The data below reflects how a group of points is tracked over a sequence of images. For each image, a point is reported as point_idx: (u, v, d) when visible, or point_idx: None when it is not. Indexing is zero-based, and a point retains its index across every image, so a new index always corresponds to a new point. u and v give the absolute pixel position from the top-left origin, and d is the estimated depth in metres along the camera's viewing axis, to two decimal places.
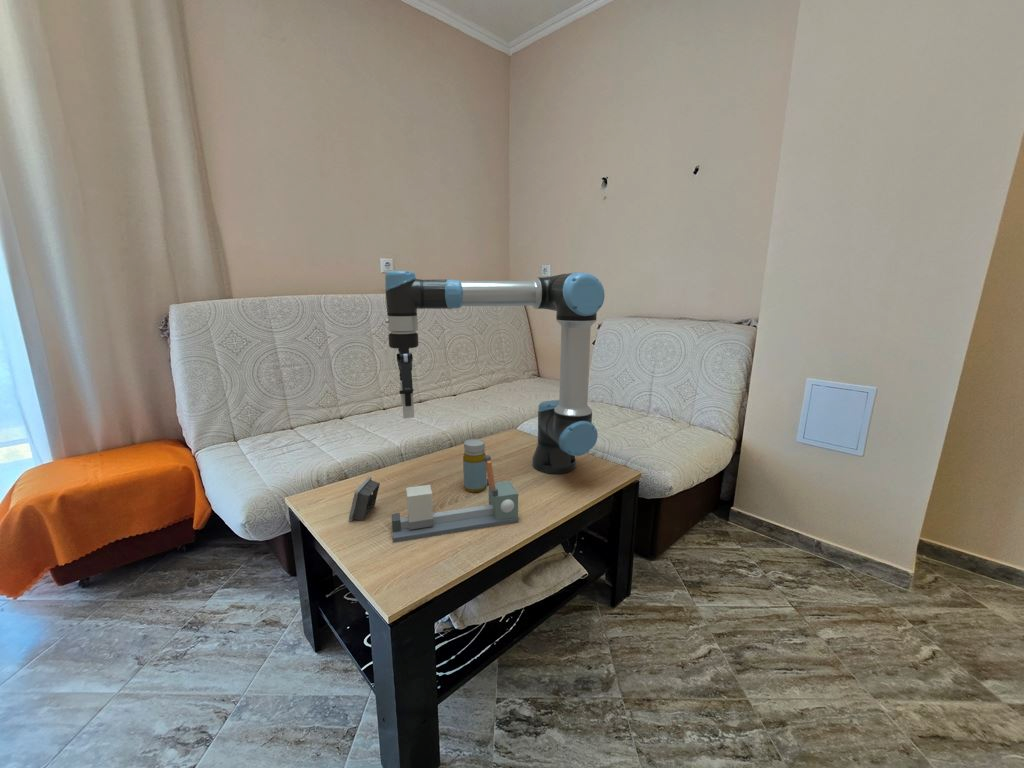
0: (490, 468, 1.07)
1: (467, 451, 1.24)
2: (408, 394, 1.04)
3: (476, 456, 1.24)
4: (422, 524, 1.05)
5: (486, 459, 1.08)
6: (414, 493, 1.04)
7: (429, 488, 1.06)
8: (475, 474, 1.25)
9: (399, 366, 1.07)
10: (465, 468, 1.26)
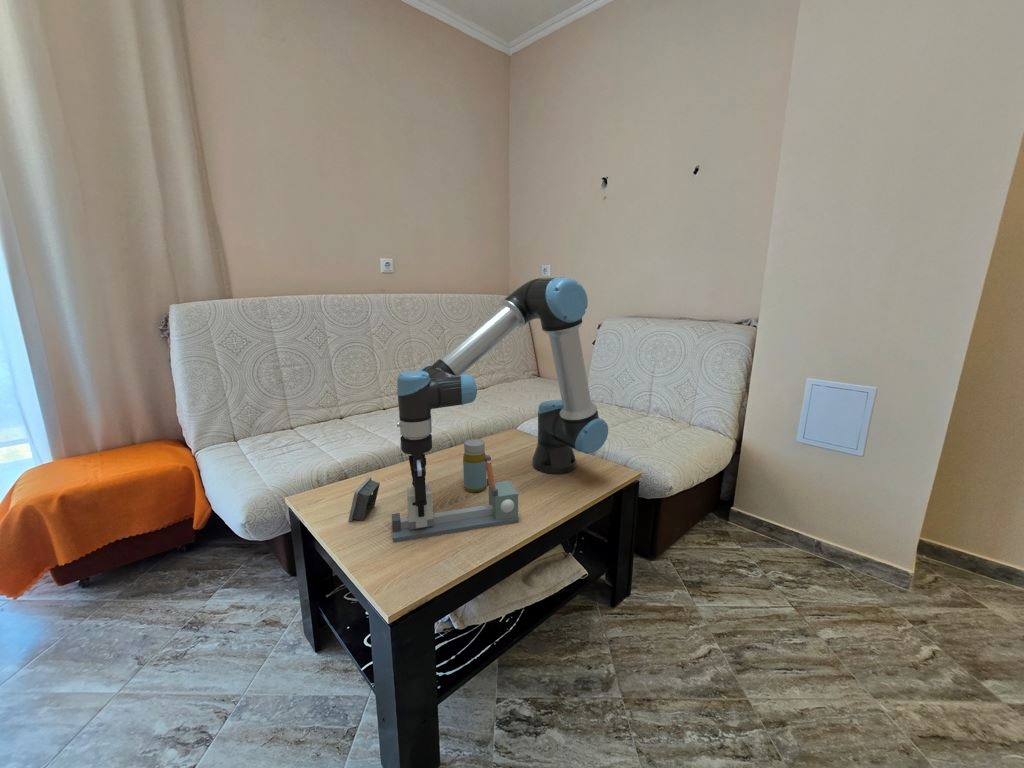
0: (490, 468, 1.07)
1: (467, 451, 1.24)
2: (421, 505, 1.01)
3: (476, 456, 1.24)
4: None
5: (486, 459, 1.08)
6: (414, 493, 1.04)
7: (429, 488, 1.06)
8: (475, 474, 1.25)
9: (412, 474, 1.01)
10: (465, 468, 1.26)
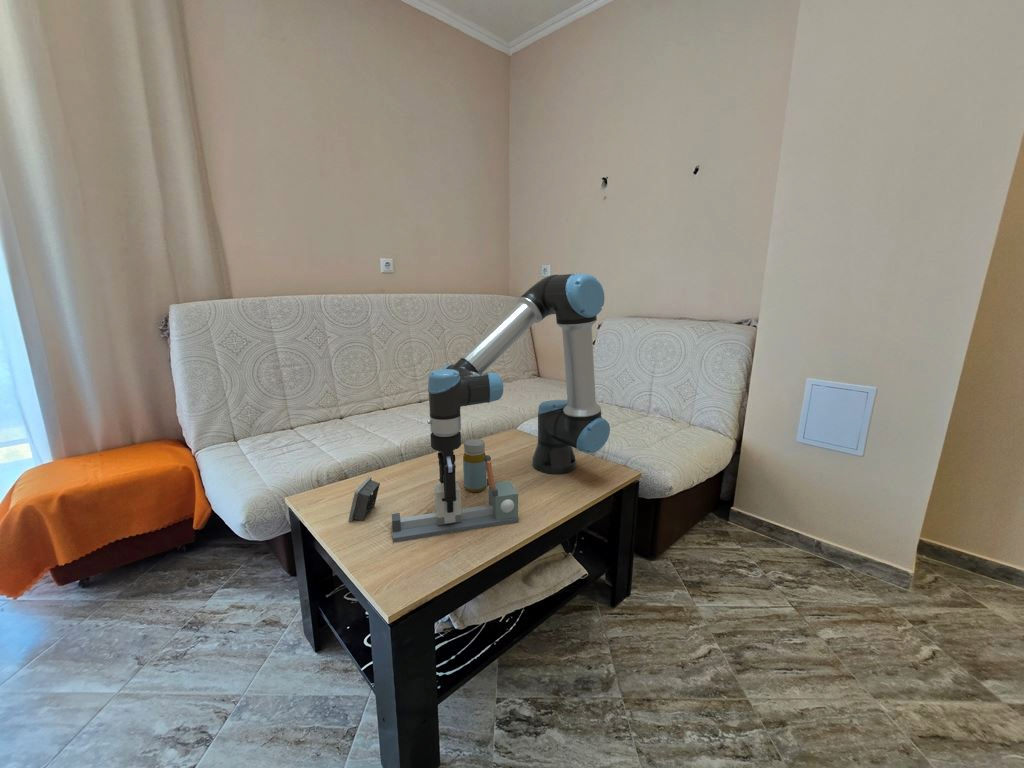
0: (490, 468, 1.07)
1: (467, 451, 1.24)
2: (450, 501, 1.03)
3: (476, 456, 1.24)
4: None
5: (486, 459, 1.08)
6: (443, 489, 1.06)
7: (457, 484, 1.08)
8: (475, 474, 1.25)
9: (442, 471, 1.03)
10: (465, 468, 1.26)
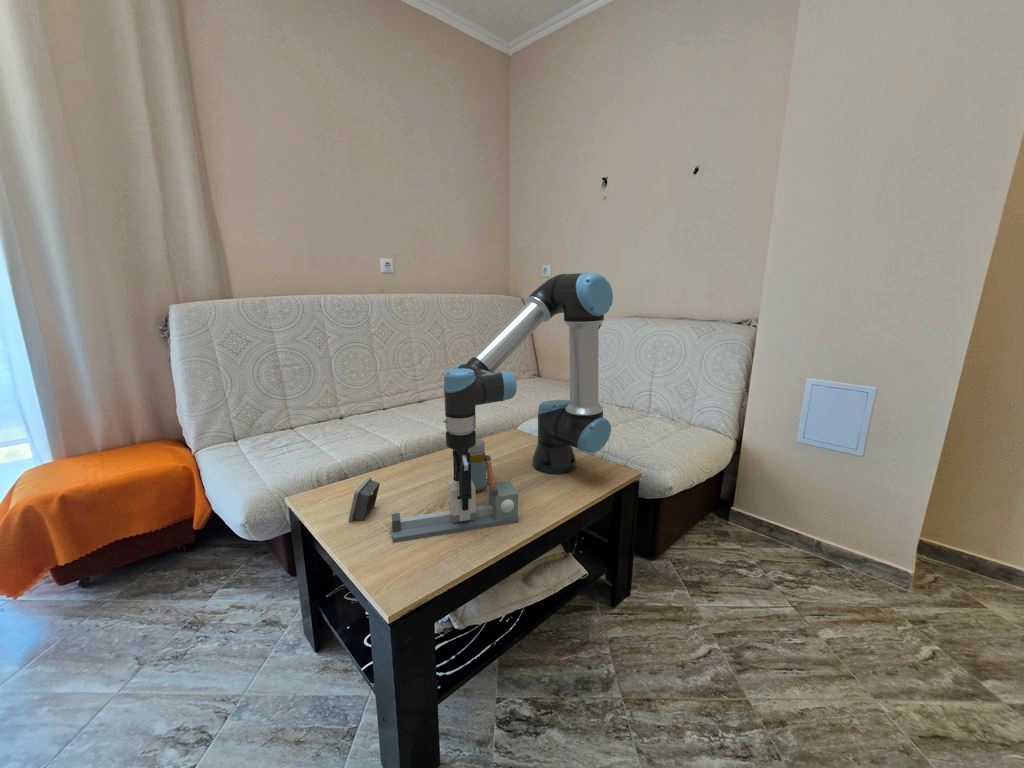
0: (490, 468, 1.07)
1: None
2: (466, 499, 1.04)
3: (476, 456, 1.24)
4: None
5: (486, 459, 1.08)
6: (458, 487, 1.07)
7: (471, 482, 1.09)
8: (475, 474, 1.25)
9: (457, 469, 1.04)
10: None
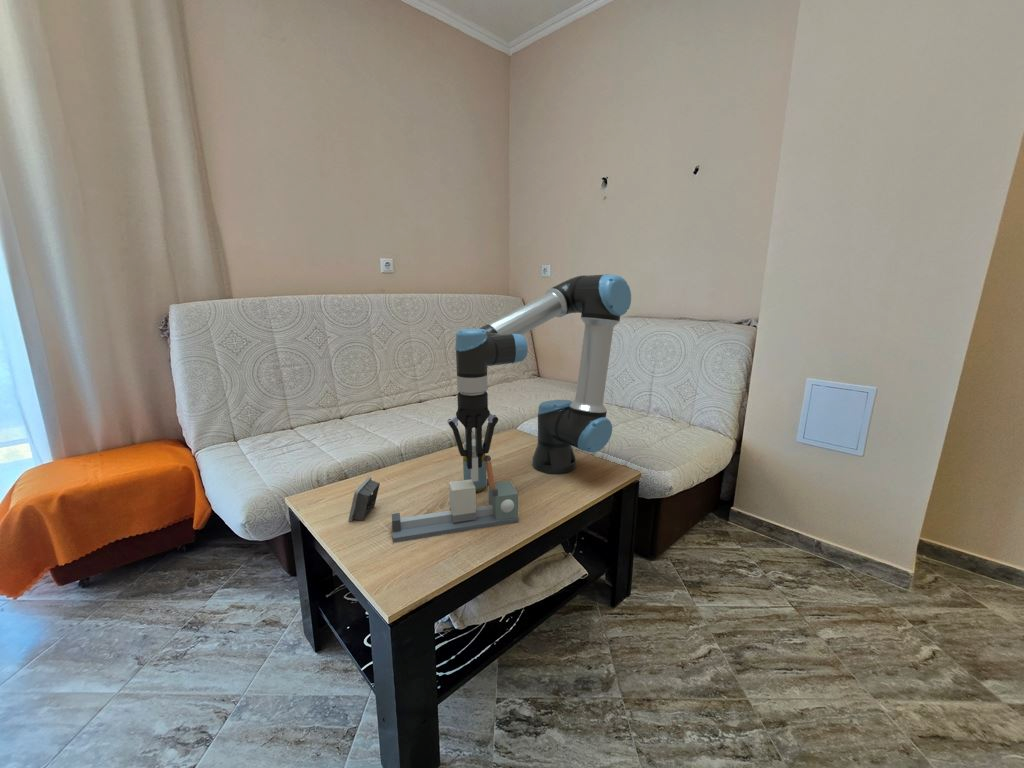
0: (490, 468, 1.07)
1: None
2: (466, 457, 1.07)
3: None
4: (465, 517, 1.08)
5: (486, 459, 1.08)
6: (458, 487, 1.07)
7: (471, 482, 1.09)
8: None
9: (465, 426, 1.07)
10: (465, 468, 1.26)
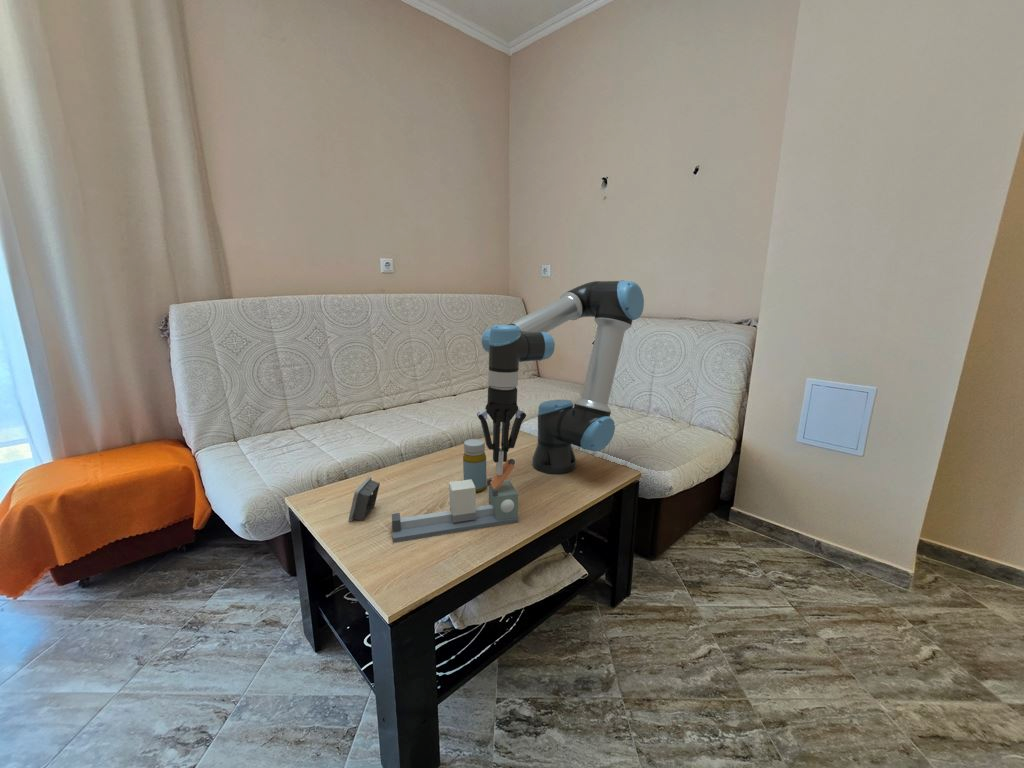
0: (509, 471, 1.09)
1: (467, 451, 1.24)
2: (493, 450, 1.09)
3: (476, 456, 1.24)
4: (465, 517, 1.08)
5: (511, 461, 1.10)
6: (458, 487, 1.07)
7: (471, 482, 1.09)
8: (475, 474, 1.25)
9: (493, 420, 1.09)
10: (465, 468, 1.26)
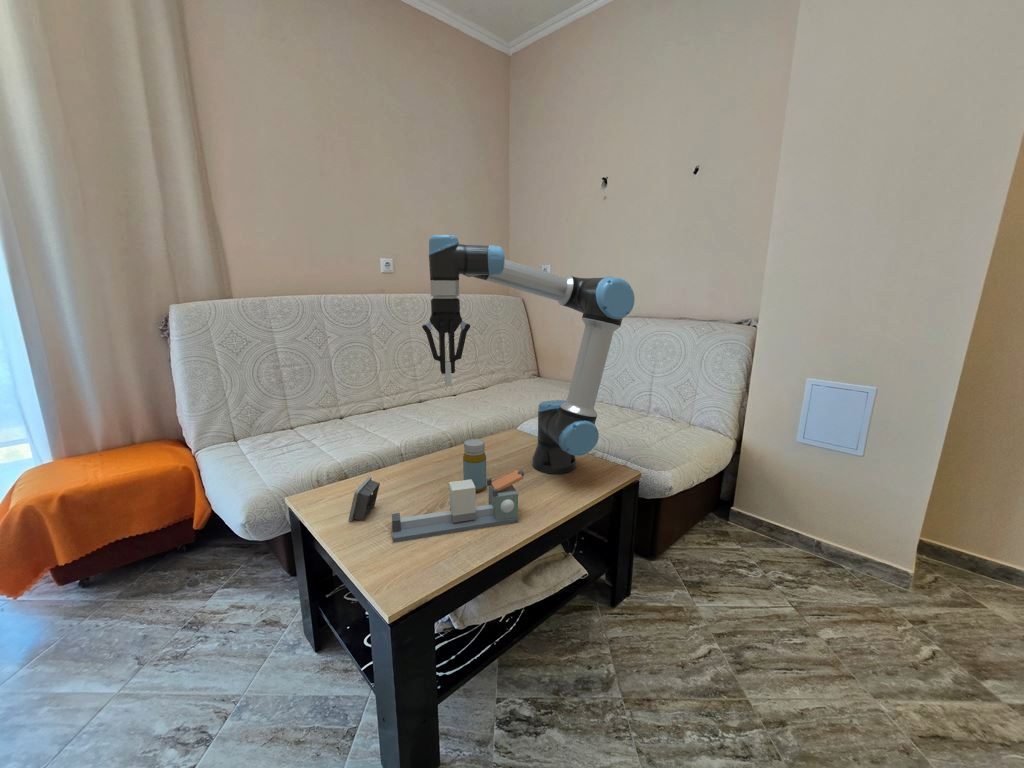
0: (517, 480, 1.10)
1: (467, 451, 1.24)
2: (440, 362, 1.13)
3: (476, 456, 1.24)
4: (465, 517, 1.08)
5: (521, 473, 1.12)
6: (458, 487, 1.07)
7: (471, 482, 1.09)
8: (475, 474, 1.25)
9: None
10: (465, 468, 1.26)
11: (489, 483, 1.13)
